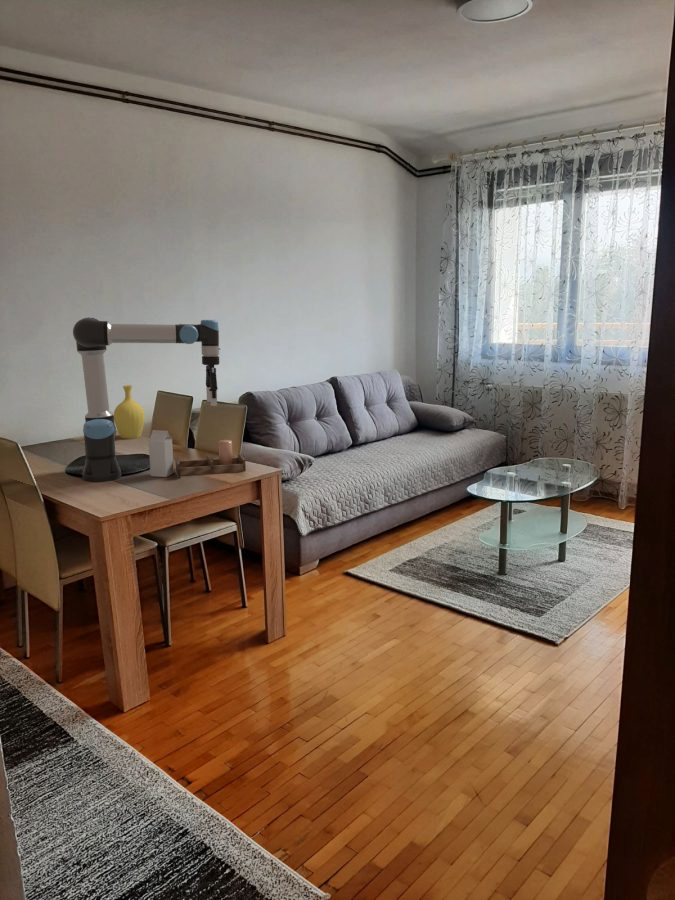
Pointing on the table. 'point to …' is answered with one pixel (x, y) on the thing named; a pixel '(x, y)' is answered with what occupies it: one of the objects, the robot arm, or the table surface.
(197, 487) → the table surface
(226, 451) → the canister
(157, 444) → the milk carton
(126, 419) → the vase
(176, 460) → the rack
